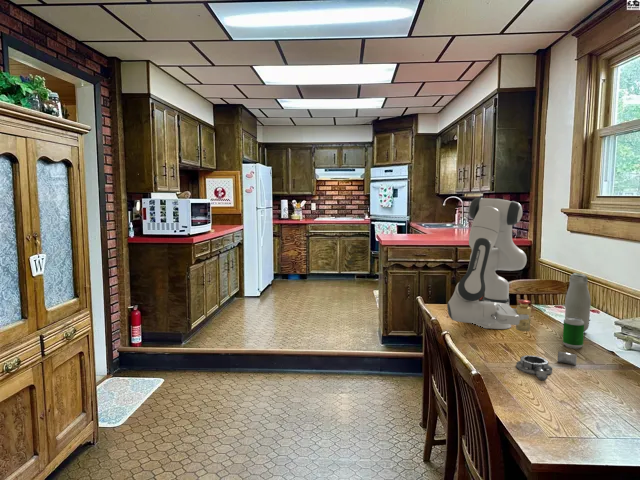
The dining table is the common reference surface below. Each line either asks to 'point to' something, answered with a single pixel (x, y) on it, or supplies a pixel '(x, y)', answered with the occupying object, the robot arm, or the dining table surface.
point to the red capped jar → (524, 309)
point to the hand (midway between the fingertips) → (526, 314)
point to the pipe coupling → (567, 358)
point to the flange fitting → (534, 366)
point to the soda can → (573, 332)
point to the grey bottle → (578, 299)
